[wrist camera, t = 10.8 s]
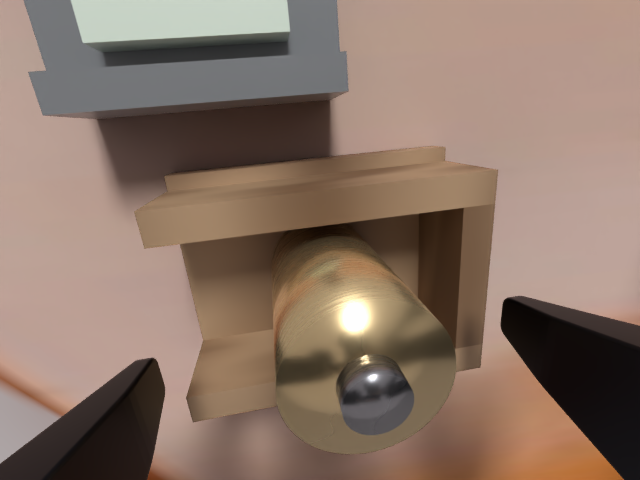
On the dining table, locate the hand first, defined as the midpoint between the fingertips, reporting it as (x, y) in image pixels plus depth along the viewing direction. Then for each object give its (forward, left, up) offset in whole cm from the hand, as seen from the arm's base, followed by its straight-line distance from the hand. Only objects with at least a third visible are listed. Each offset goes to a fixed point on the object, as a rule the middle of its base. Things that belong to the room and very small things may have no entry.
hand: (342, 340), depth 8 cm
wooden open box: (0, 0, -6) cm, 6 cm away
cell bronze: (0, 0, -5) cm, 5 cm away
